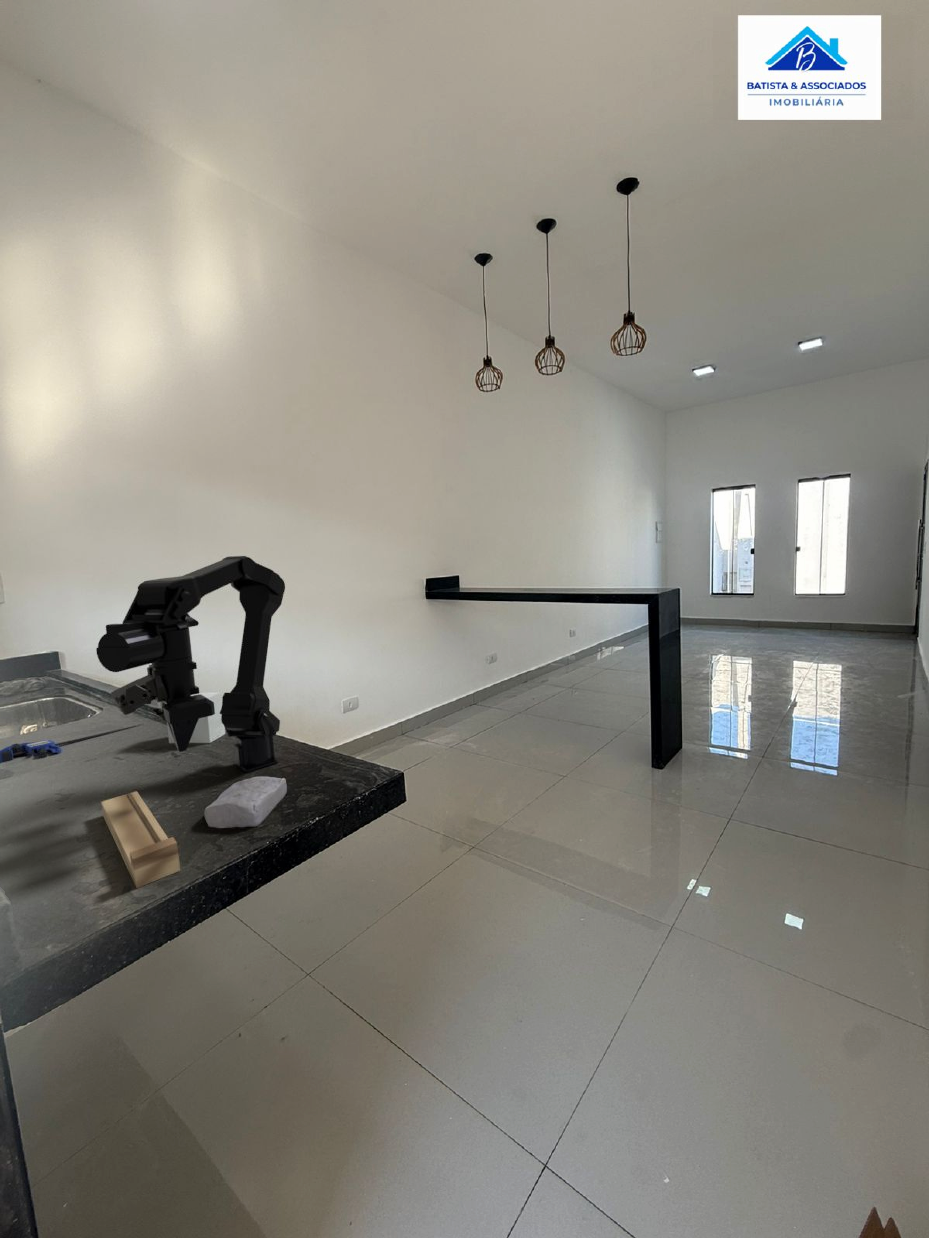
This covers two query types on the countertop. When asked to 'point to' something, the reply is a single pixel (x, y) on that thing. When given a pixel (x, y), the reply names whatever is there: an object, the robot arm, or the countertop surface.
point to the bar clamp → (40, 747)
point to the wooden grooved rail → (140, 839)
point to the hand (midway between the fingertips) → (182, 750)
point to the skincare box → (207, 723)
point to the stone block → (246, 802)
